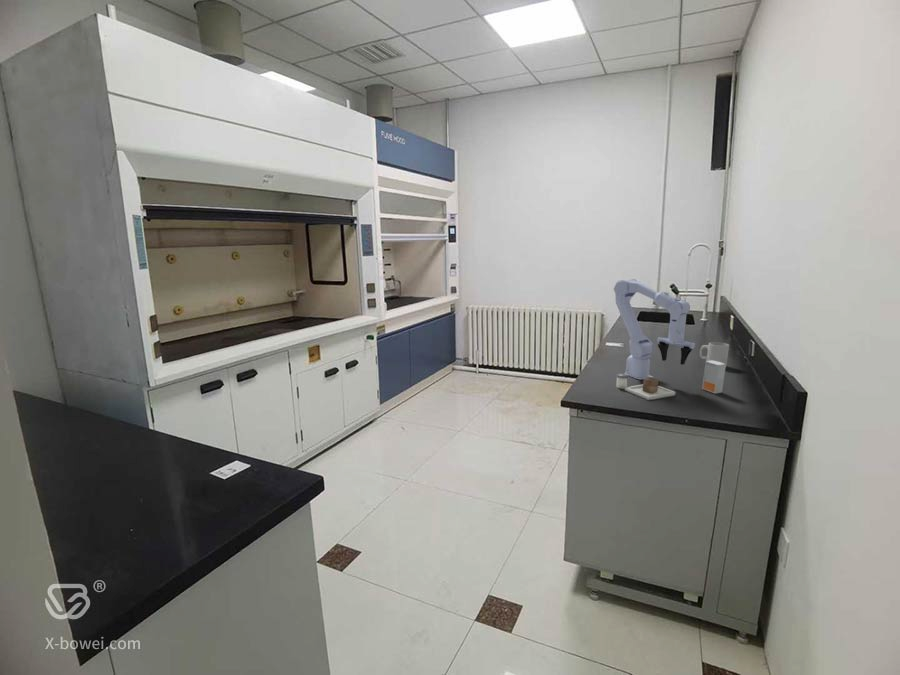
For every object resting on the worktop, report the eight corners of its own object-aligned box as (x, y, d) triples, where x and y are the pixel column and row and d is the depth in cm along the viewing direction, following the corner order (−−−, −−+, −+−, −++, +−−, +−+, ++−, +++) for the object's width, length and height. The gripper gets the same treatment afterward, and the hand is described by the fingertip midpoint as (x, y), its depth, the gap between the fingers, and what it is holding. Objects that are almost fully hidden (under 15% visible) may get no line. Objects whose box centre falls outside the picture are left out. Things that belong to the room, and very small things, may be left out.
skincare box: (701, 389, 181) (705, 360, 179) (709, 388, 183) (712, 359, 180) (714, 394, 176) (718, 364, 173) (722, 392, 177) (726, 363, 175)
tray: (624, 390, 180) (625, 387, 180) (650, 386, 185) (651, 383, 185) (648, 400, 169) (648, 396, 169) (675, 395, 174) (675, 391, 174)
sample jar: (613, 386, 185) (614, 374, 184) (621, 384, 187) (622, 373, 186) (621, 389, 181) (622, 377, 180) (629, 388, 183) (630, 375, 182)
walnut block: (642, 391, 177) (643, 379, 176) (647, 389, 180) (648, 377, 179) (652, 393, 174) (653, 381, 173) (657, 391, 177) (658, 379, 176)
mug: (728, 366, 214) (731, 343, 212) (723, 369, 208) (726, 346, 206) (700, 361, 222) (703, 340, 220) (695, 364, 216) (698, 342, 214)
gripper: (654, 328, 185) (651, 360, 188) (690, 334, 174) (686, 367, 176) (663, 326, 189) (659, 357, 192) (698, 332, 178) (694, 364, 181)
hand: (673, 362), depth 184 cm, fingers open, 7 cm apart
